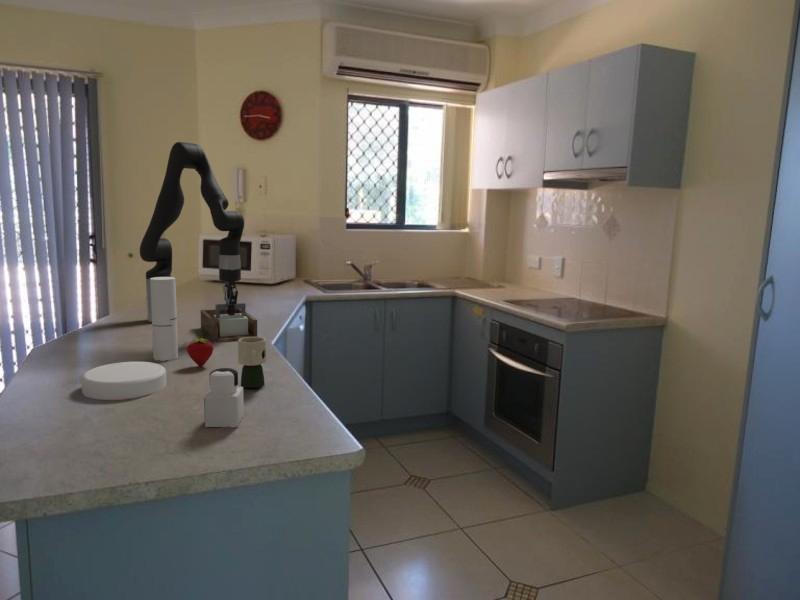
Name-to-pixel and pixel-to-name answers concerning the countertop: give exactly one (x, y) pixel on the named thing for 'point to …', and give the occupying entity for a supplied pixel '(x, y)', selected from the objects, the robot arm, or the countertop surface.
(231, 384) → the medicine bottle
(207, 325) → the bay
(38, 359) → the countertop surface
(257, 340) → the character mug
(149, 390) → the container
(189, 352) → the strawberry
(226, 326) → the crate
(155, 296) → the cylindrical container
